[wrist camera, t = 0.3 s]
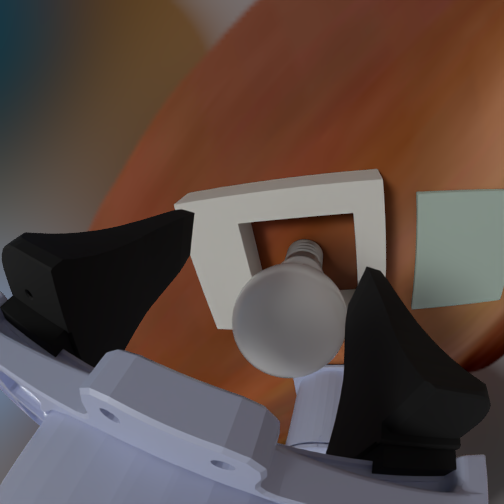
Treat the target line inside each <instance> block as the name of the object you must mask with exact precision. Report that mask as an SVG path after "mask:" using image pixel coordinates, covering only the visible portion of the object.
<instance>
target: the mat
mask: <svg viewBox="0 0 504 504" xmlns="http://www.w3.org/2000/svg"><path fill="white" fill-rule="evenodd" d="M416 202H417V225H416V255H415V271H414V284H413V294H412V303H411V308H412V309H422V308H433V307H444V306H453V305H462V304H471V303H479V302H487V301H494V300H500V298H501V294H502V290H503V287H504V189H477V190H448V191H426V192H416Z"/></svg>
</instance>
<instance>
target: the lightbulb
mask: <svg viewBox="0 0 504 504" xmlns="http://www.w3.org/2000/svg"><path fill="white" fill-rule="evenodd" d="M322 263H323V252H322V249H321V248H320V246H319V245H318V244H317V243H315V242H313V241H311V240H307V239H301V240H297V241H295V242H294V243H292V244H291V245H290V247H289V249H288V251H287V255H286V258H285V261H283V262H282V263H281V264H277V265H274V266H271V267H268V268H266V269H264V270H262V271H260V272H259V273H257V274H256V275H255V276H253V277H252V278H251V279H250V280H249V281H248V282H247V283H246V284H245V286H244V287H243V288H242V290H241V291H240V293H239V295H238V297H237V299H236V302H235V305H234V308H233V314H232V329H233V335H234V338H235V341H236V344H237V346H238V348H239V350H240V351H241V353H242V354H243V356H244V357H245V358H246V359H247V360H248V361H249V362H250V363H251V364H252V365H253V366H254V367H256V368H257V369H259V370H260V371H262V372H264V373H266V374H269V375H272V376H276V377H281V378H298V377H303V376H306V375H309V374H312V373H314V372H316V371H318V370H320V369H321V368H323V367H324V366H326V365H327V364H328V363H329V362H330V361H331V360H332V359H333V358H334V357H335V356H336V354H337V353H338V351H339V350H340V348H341V346H342V344H343V342H344V339H345V321H346V314H347V307H346V303H345V300H344V298H343V296H342V294H341V292H340V290H339V288H338V287H337V286H336V284H335V283H334V282H333V281H332V280H331V279H330V278H329V277H328V276H327V275H326V274H324V272H323V270H322Z"/></svg>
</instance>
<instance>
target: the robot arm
mask: <svg viewBox="0 0 504 504" xmlns="http://www.w3.org/2000/svg"><path fill="white" fill-rule="evenodd" d="M194 214H195V213H193V212H190V211H187V210H183V209H179V210H174V211H170V212H167V213H163V214H160V215H157V216H153V217H150V218H147V219H144V220H140V221H136V222H133V223H129V224H126V225H122V226H118V227H113V228H108V229H103V230H97V231H88V232H80V233H67V234H43V233H23V234H22V235H20V236H19V237H17V238H16V239H14V240H13V241H11V242H10V243H9V244H7V245H6V246H5V247H4V248H3V252H2V263H3V268H4V271H5V274H6V277H7V280H8V283H9V286H10V289H11V292H12V294H13V296H12V297H11V298H10V299H8V300H7V298H6V297H5V295H3V293H2V292H0V389H1V390H2V391H3V392H4V393H5V394H6V395H7V396H8V397H9V398H10V399H11V400H12V401H13V402H14V403H15V404H16V405H17V406H18V407H19V408H20V409H21V410H23V411H24V412H25V413H26V414H27V415H28V416H29V417H30V418H31V419H33V420H34V421H35V422H36V423H37V424H38V425H40V427H39V428H38V429H37V431H36V432H35V434H34V435H33V437H32V438H31V439H30V441H29V442H28V444H27V445H26V447H25V448H24V450H23V451H22V453H21V454H20V456H19V457H18V458H17V460H16V462H15V463H14V465H13V466H12V468H11V469H10V471H9V472H8V474H7V475H6V477H5V478H4V480H3V481H2V483H1V485H0V504H488V483H487V470H486V459H485V455H483V454H482V455H463V456H459V457H457V458H456V454H455V450H457V449H459V448H460V445H461V444H460V437H462V436H463V435H464V434H466V433H467V432H468V431H470V430H471V429H472V428H474V427H475V426H476V425H477V424H478V423H480V422H481V421H482V420H483V419H484V417H485V416H486V414H487V413H488V412H489V409H490V400H489V396H488V391H487V387H486V384H484V383H483V382H481V381H480V380H479V379H477V378H476V377H474V376H473V375H472V374H470V373H469V372H467V371H466V370H465V369H463V368H462V367H461V366H460V365H459V364H457V363H456V362H455V361H454V360H453V359H451V358H450V357H449V356H448V355H447V354H446V353H445V352H444V351H443V350H442V349H441V348H440V347H439V346H438V345H437V344H436V343H435V342H434V341H433V340H432V339H431V338H430V337H429V336H428V335H427V333H426V332H425V331H424V330H423V329H422V328H421V326H420V325H419V324H418V323H417V321H416V320H415V319H414V317H413V316H412V315H411V313H410V312H409V311H408V309H407V308H406V307H405V305H404V304H403V302H402V301H401V299H400V298H399V296H398V295H397V293H396V292H395V290H394V289H393V287H392V286H391V284H390V283H389V282H388V280H387V279H386V277H385V276H384V275H383V273H382V272H381V271H380V270H377V269H374V268H370V267H366V269H365V271H364V273H363V275H362V277H361V279H360V281H359V283H358V286H357V288H356V290H355V292H354V294H353V296H352V298H351V300H350V302H349V304H348V308H347V314H346V321H345V350H344V365H326V366H324V367H323V368H321V369H320V370H318V371H316V372H314V373H312V374H309V375H306V376H303V377H298V378H293V379H294V384H295V389H296V394H297V397H296V402H295V406H294V411H293V415H292V420H291V424H290V428H289V432H288V437H287V441H286V445H283V444H279V443H277V440H278V437H279V433H280V421H279V420H278V419H277V418H276V417H275V416H274V415H273V414H272V413H271V412H270V411H269V410H268V409H267V408H266V407H265V406H263V405H261V404H259V403H257V402H254V401H252V400H250V399H248V398H246V397H244V396H241V395H238V394H235V393H232V392H229V391H227V390H224V389H221V388H218V387H215V386H213V385H210V384H207V383H205V382H202V381H200V380H197V379H194V378H192V377H189V376H187V375H184V374H182V373H180V372H177V371H175V370H172V369H170V368H168V367H165V366H163V365H161V364H158V363H156V362H154V361H152V360H150V359H147V358H145V357H143V356H141V355H138V354H135V353H131V352H128V351H125V348H126V346H127V345H128V343H129V341H130V339H131V337H132V336H133V334H134V332H135V330H136V329H137V327H138V325H139V324H140V322H141V321H142V319H143V317H144V316H145V314H146V313H147V311H148V310H149V309H150V307H151V306H152V305H153V304H154V302H155V301H156V300H157V299H158V297H159V296H160V295H161V294H162V293H163V291H164V290H165V289H166V288H167V287H168V285H169V284H170V283H171V282H172V281H173V279H174V278H175V277H176V276H177V274H178V273H179V272H180V270H181V269H182V267H183V266H184V264H185V262H186V261H187V259H188V257H189V256H190V252H191V242H192V233H193V223H194Z"/></svg>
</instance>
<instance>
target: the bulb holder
mask: <svg viewBox="0 0 504 504" xmlns="http://www.w3.org/2000/svg"><path fill="white" fill-rule="evenodd" d="M174 207H175V210H179V209H183V210H187V211H190V212H193V213H195V214H194V223H193V233H192V242H191V252H190V255H191V258H192V261H193V264H194V266H195V269H196V272H197V275H198V278H199V280H200V283H201V286H202V289H203V291H204V294H205V297H206V299H207V302H208V305H209V307H210V310H211V313H212V315H213V318H214V321H215V323H216V326H217V328H218V329H232V314H233V308H234V305H235V302H236V299H237V297H238V295H239V293H240V291H241V290H242V288H243V287H244V286H245V284H246V283H247V282H248V281H249V280H250V279H251V278H252V277H253V276H255V275H256V274H257V273H259V272H260V271H262V267H261V262H260V258H259V254H258V250H257V246H256V242H255V237H254V233H253V229H252V225H251V222H258V221H268V220H279V219H289V218H300V217H311V216H323V215H334V214H347V213H353V216H354V228H355V241H356V257H357V279H358V283H359V281H360V279H361V277H362V275H363V273H364V271H365V269H366V267H370V268H374V269H377V270H380V271H381V272H382V273H383V275H384V276H385V277H386V227H385V204H384V188H383V179H382V177H381V175H380V173H379V171H378V169H371V170H359V171H347V172H336V173H326V174H317V175H308V176H299V177H291V178H283V179H275V180H268V181H260V182H253V183H246V184H240V185H233V186H227V187H221V188H215V189H209V190H203V191H197V192H191V193H188V194H187V195H186V196H184V197H183V198H182V199H180V200H179V201H178V202H177V203H175V204H174ZM355 290H356V289H350V290H340V292H341V294H342V296H343V298H344V300H345V303H346V307H347V308H348V304H349V302H350V300H351V298H352V296H353V294H354V292H355Z"/></svg>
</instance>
